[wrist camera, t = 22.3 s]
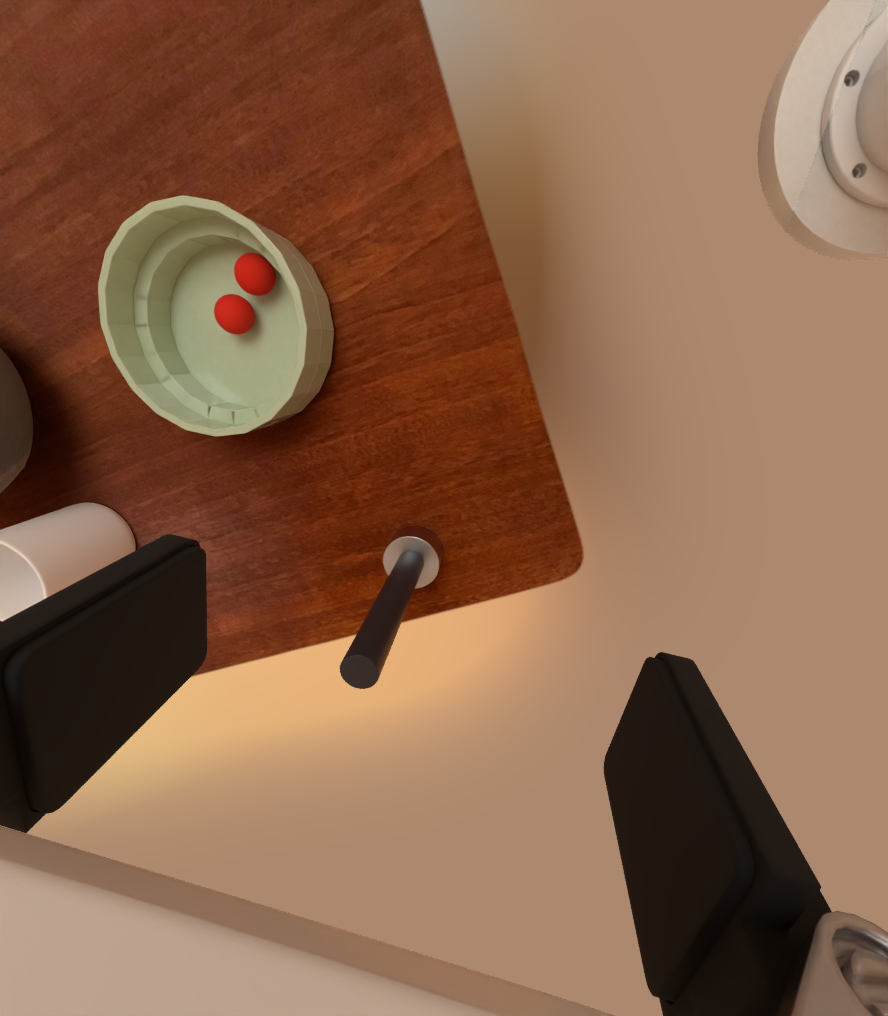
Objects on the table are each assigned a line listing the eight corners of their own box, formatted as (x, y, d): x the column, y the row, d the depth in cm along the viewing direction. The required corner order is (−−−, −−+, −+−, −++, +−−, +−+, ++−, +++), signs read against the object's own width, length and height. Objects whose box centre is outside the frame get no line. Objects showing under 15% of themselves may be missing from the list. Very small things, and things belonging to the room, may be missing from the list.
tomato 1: (201, 321, 35) (213, 283, 35) (220, 327, 38) (231, 292, 38) (238, 338, 36) (250, 300, 35) (254, 342, 38) (265, 308, 38)
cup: (104, 487, 46) (-3, 522, 36) (174, 584, 49) (93, 640, 39) (51, 519, 48) (-63, 560, 39) (121, 610, 51) (32, 670, 41)
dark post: (441, 526, 42) (398, 636, 26) (444, 576, 44) (405, 710, 27) (387, 525, 43) (311, 633, 26) (392, 575, 45) (323, 705, 28)
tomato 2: (257, 249, 36) (285, 261, 35) (254, 288, 38) (281, 301, 37) (225, 245, 34) (255, 258, 33) (224, 287, 35) (252, 301, 34)
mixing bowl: (346, 240, 36) (315, 219, 30) (326, 441, 41) (297, 454, 35) (154, 204, 37) (89, 177, 31) (160, 404, 42) (106, 412, 37)
